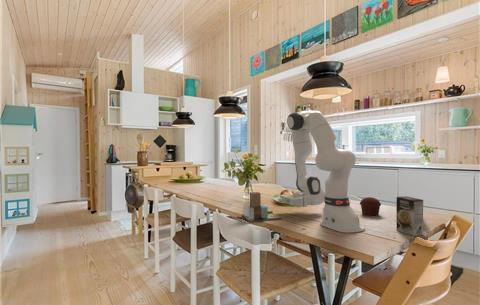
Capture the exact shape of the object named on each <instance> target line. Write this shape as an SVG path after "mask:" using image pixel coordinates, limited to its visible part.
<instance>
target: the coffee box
mask: <svg viewBox="0 0 480 305" xmlns="http://www.w3.org/2000/svg"><path fill="white" fill-rule="evenodd" d="M396 231H397V232H402V233H404V234H406V235H410V236H413V237H415V236H421V235H424V199H421V198H417V197H413V198H412V196H411V197H410V196H405V195H404V196H397V197H396Z"/></svg>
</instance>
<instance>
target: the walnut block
mask: <svg viewBox="0 0 480 305" xmlns="http://www.w3.org/2000/svg"><path fill="white" fill-rule="evenodd" d="M261 203H262V202H261V192H259V191H253V192H252V191H249V205H250V206H252V207H253V208H254V218H261Z"/></svg>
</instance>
